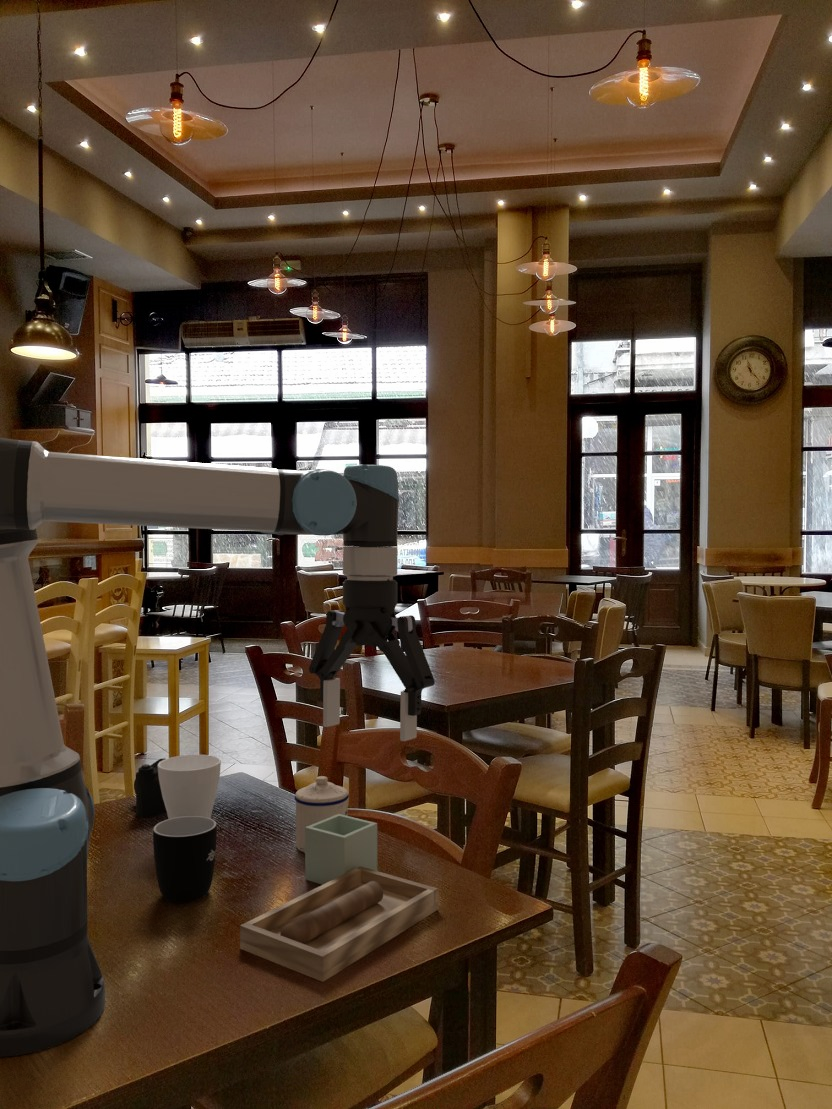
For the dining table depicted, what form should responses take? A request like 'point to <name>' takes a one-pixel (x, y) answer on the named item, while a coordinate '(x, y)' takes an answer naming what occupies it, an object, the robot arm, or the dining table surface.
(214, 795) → the cup
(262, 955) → the serving tray
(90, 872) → the dining table surface
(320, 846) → the pot
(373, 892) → the baguette
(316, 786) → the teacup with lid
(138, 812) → the black teapot
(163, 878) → the mug
